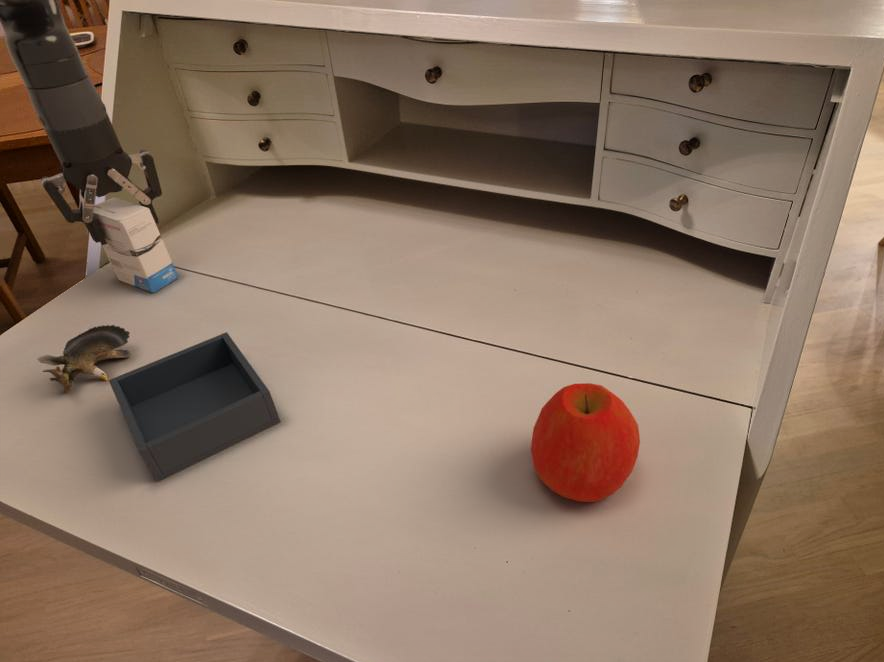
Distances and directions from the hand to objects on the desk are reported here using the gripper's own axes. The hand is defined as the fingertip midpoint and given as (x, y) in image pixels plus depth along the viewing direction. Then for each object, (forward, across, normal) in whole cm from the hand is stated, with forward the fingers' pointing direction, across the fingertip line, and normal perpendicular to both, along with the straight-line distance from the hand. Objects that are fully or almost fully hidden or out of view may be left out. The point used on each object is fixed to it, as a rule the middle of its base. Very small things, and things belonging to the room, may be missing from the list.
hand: (128, 234), depth 91 cm
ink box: (+8, 0, 0) cm, 8 cm away
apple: (+8, -25, +68) cm, 73 cm away
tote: (+8, +3, +35) cm, 36 cm away
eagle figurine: (+8, +11, +19) cm, 23 cm away
